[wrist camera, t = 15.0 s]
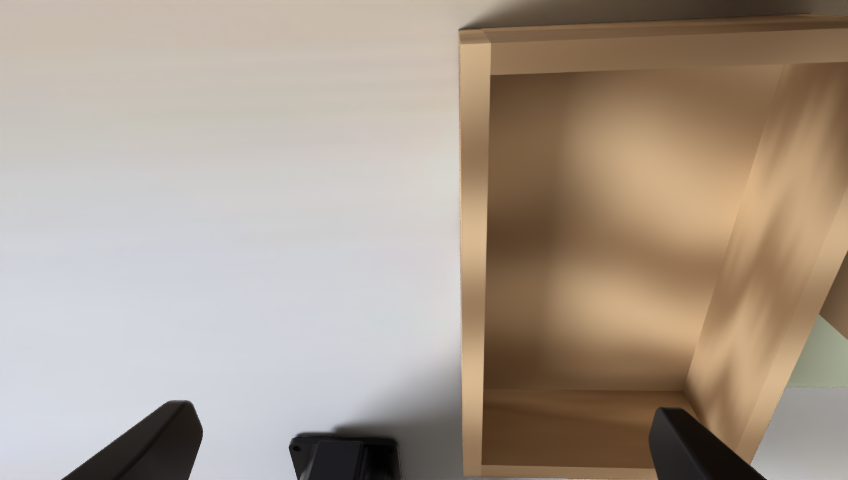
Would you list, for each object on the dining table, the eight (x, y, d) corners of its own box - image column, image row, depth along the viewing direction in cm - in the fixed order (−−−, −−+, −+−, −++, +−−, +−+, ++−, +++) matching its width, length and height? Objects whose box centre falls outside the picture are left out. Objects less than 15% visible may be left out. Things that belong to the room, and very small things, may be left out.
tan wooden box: (695, 393, 24) (812, 588, 16) (461, 391, 25) (465, 575, 17) (884, -180, 13) (1515, -425, 5) (456, -149, 14) (461, -320, 6)
